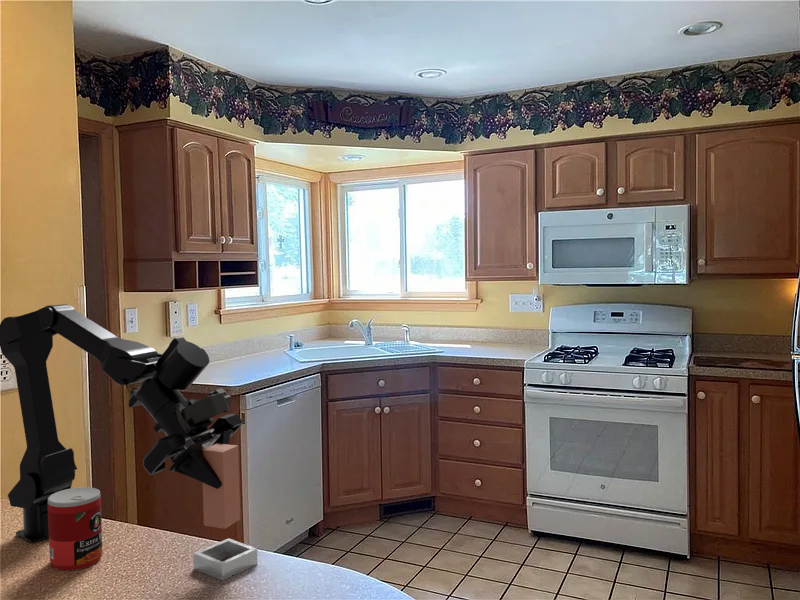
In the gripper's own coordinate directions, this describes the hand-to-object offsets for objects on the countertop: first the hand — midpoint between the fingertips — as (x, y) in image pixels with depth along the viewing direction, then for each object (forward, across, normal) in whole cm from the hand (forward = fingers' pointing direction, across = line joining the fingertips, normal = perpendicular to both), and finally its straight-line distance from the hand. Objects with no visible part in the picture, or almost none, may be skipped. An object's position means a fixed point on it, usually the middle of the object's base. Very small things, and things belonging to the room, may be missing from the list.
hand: (228, 482), depth 103 cm
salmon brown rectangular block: (+4, 0, +6) cm, 7 cm away
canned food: (-8, -6, +28) cm, 30 cm away
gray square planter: (+9, 0, +11) cm, 14 cm away
